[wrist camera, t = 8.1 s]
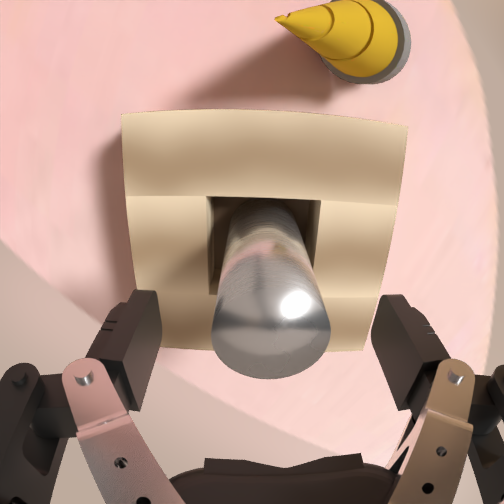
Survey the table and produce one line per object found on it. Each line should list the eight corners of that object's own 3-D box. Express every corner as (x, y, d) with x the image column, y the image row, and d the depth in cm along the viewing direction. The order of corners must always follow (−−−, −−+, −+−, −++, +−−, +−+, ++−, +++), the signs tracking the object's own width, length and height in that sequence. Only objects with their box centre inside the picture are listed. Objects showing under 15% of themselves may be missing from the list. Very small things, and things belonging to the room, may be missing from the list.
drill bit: (384, 102, 17) (278, 111, 12) (334, 42, 18) (213, 29, 12) (444, 53, 13) (367, 13, 7) (384, -9, 13) (272, -62, 8)
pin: (230, 195, 19) (208, 285, 10) (299, 198, 19) (340, 289, 10) (229, 257, 20) (213, 377, 11) (293, 259, 20) (320, 378, 11)
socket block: (146, 111, 17) (121, 114, 14) (379, 121, 17) (408, 126, 14) (161, 310, 23) (147, 345, 20) (349, 315, 23) (362, 350, 20)
